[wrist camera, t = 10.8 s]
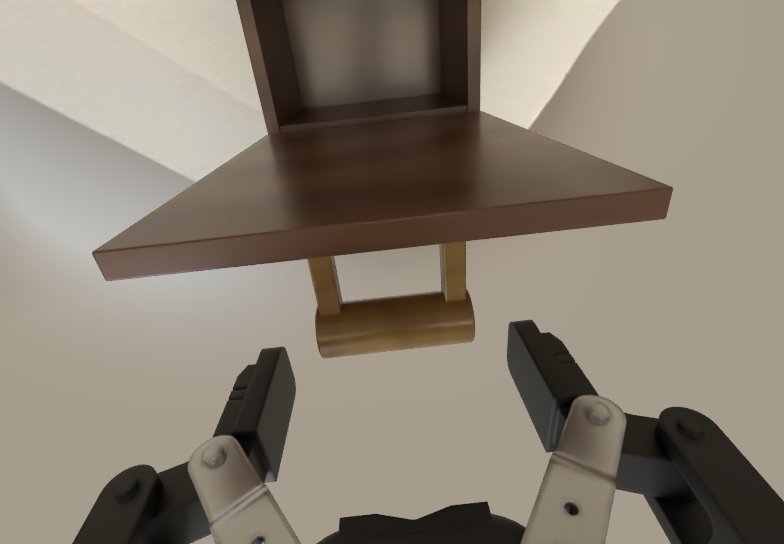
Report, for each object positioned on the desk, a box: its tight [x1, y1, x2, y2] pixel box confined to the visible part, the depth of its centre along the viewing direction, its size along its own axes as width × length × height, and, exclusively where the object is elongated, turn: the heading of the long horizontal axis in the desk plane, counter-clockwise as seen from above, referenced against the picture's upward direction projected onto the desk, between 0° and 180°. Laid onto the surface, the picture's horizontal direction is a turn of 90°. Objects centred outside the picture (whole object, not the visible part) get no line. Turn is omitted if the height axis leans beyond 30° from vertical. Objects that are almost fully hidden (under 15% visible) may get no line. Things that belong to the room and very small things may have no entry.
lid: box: [92, 111, 673, 358], centre depth 18 cm, size 17×14×5 cm
